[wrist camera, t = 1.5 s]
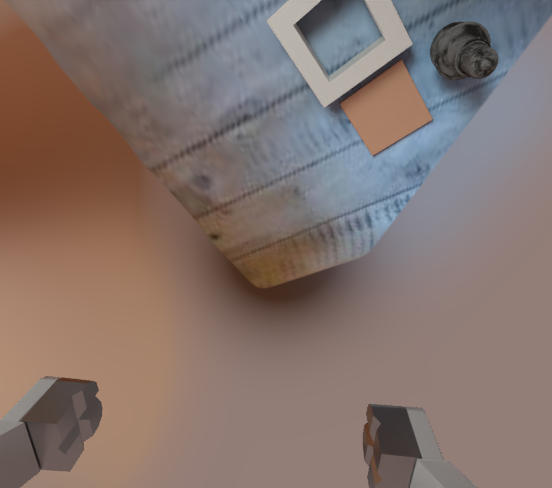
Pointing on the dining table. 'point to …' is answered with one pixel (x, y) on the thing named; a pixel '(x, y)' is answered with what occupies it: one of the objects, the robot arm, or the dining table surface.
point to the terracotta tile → (386, 108)
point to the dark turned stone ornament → (463, 51)
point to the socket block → (353, 70)
